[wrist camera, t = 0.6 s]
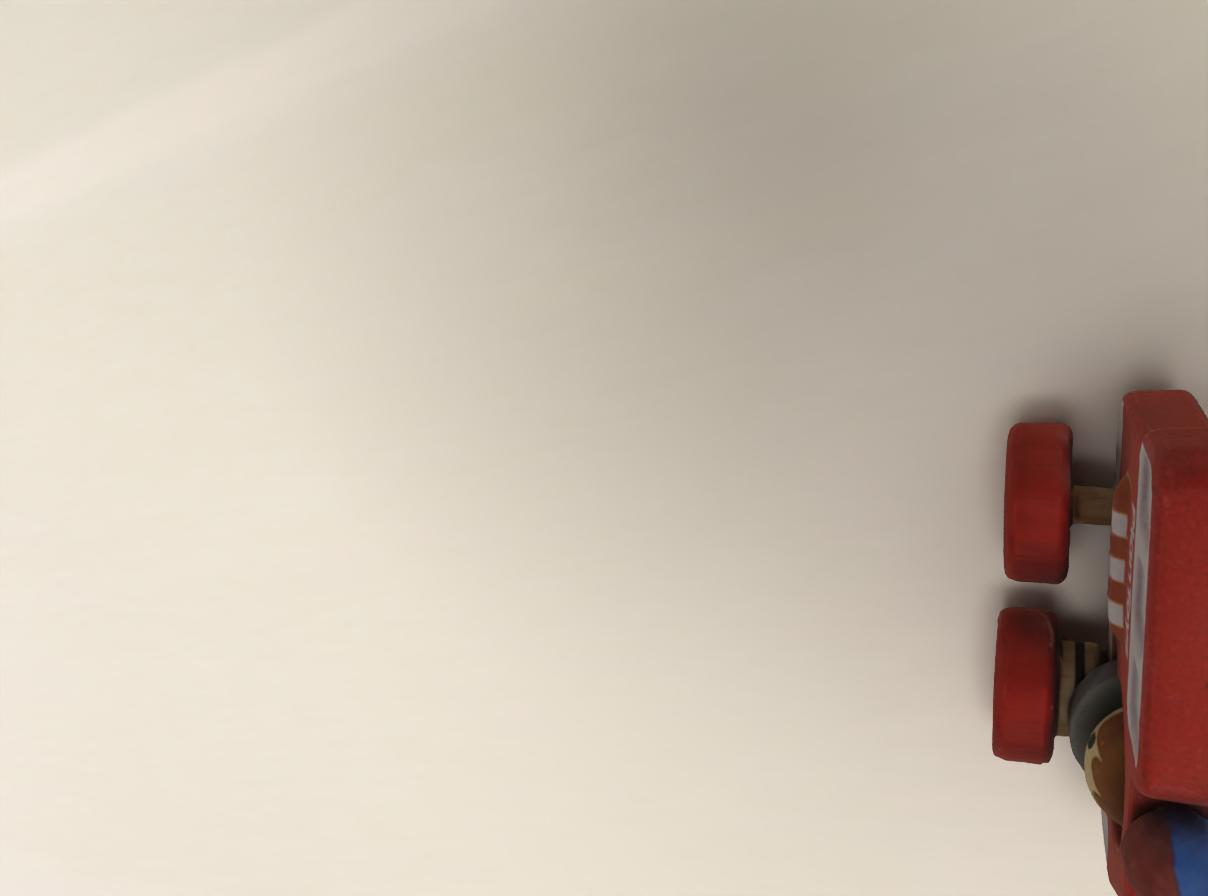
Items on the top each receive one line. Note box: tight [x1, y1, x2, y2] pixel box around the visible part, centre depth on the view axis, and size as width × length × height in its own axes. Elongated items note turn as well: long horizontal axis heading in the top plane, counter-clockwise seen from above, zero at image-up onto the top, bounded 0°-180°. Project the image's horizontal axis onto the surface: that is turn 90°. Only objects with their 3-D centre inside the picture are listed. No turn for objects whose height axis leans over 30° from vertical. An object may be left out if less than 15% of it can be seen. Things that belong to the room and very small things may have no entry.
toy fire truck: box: [992, 390, 1208, 896], centre depth 26 cm, size 7×12×10 cm, turn 2°
